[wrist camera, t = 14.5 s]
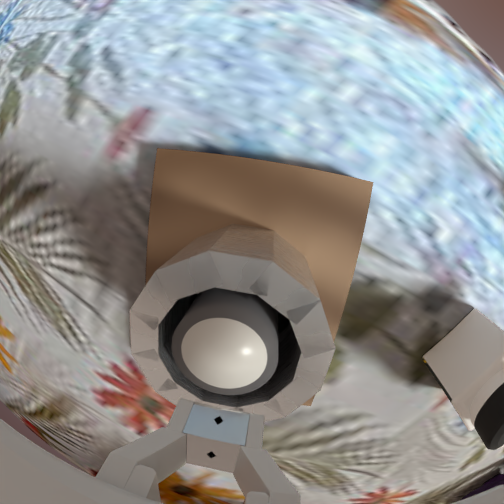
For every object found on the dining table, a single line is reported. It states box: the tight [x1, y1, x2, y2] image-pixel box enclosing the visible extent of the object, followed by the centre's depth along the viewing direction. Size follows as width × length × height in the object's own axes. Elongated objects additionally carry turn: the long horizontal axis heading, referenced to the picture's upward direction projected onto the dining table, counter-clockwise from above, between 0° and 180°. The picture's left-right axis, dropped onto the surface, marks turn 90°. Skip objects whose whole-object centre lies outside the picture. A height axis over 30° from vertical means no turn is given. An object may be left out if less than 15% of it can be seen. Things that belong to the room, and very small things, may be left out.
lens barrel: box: [130, 224, 336, 422], centre depth 16 cm, size 10×10×7 cm
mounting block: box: [145, 148, 373, 406], centre depth 21 cm, size 18×14×2 cm
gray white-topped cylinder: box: [172, 287, 278, 395], centre depth 16 cm, size 5×5×6 cm
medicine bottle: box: [422, 309, 504, 450], centre depth 16 cm, size 7×7×12 cm
